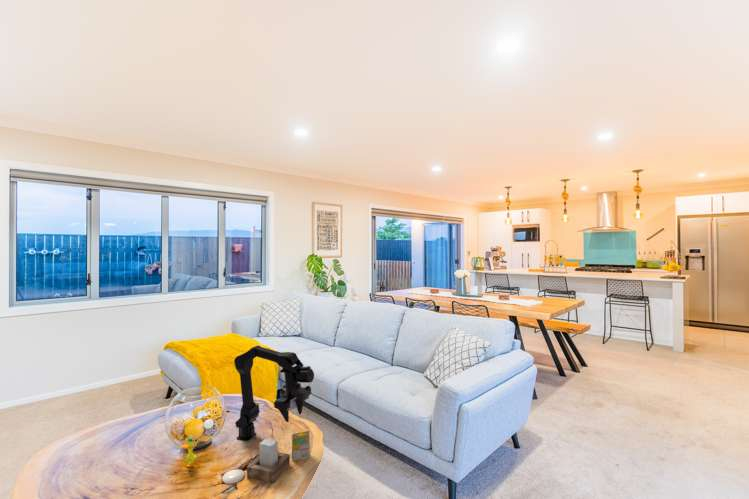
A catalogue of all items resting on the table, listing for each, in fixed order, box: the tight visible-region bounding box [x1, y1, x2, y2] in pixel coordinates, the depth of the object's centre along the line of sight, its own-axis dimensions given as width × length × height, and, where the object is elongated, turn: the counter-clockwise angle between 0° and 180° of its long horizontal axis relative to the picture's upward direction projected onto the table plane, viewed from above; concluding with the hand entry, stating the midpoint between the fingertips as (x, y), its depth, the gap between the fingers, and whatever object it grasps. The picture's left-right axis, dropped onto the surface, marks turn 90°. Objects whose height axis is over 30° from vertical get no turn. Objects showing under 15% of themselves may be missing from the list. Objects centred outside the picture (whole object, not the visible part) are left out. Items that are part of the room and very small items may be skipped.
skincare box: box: [258, 438, 279, 468], centre depth 146 cm, size 6×4×12 cm
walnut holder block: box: [246, 451, 291, 484], centre depth 146 cm, size 12×12×4 cm
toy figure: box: [179, 436, 197, 468], centre depth 150 cm, size 7×4×12 cm, turn 92°
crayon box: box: [291, 430, 311, 462], centre depth 156 cm, size 7×3×12 cm, turn 111°
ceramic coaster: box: [222, 468, 245, 485], centre depth 143 cm, size 8×8×1 cm
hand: (293, 417), depth 162 cm, fingers open, 9 cm apart
